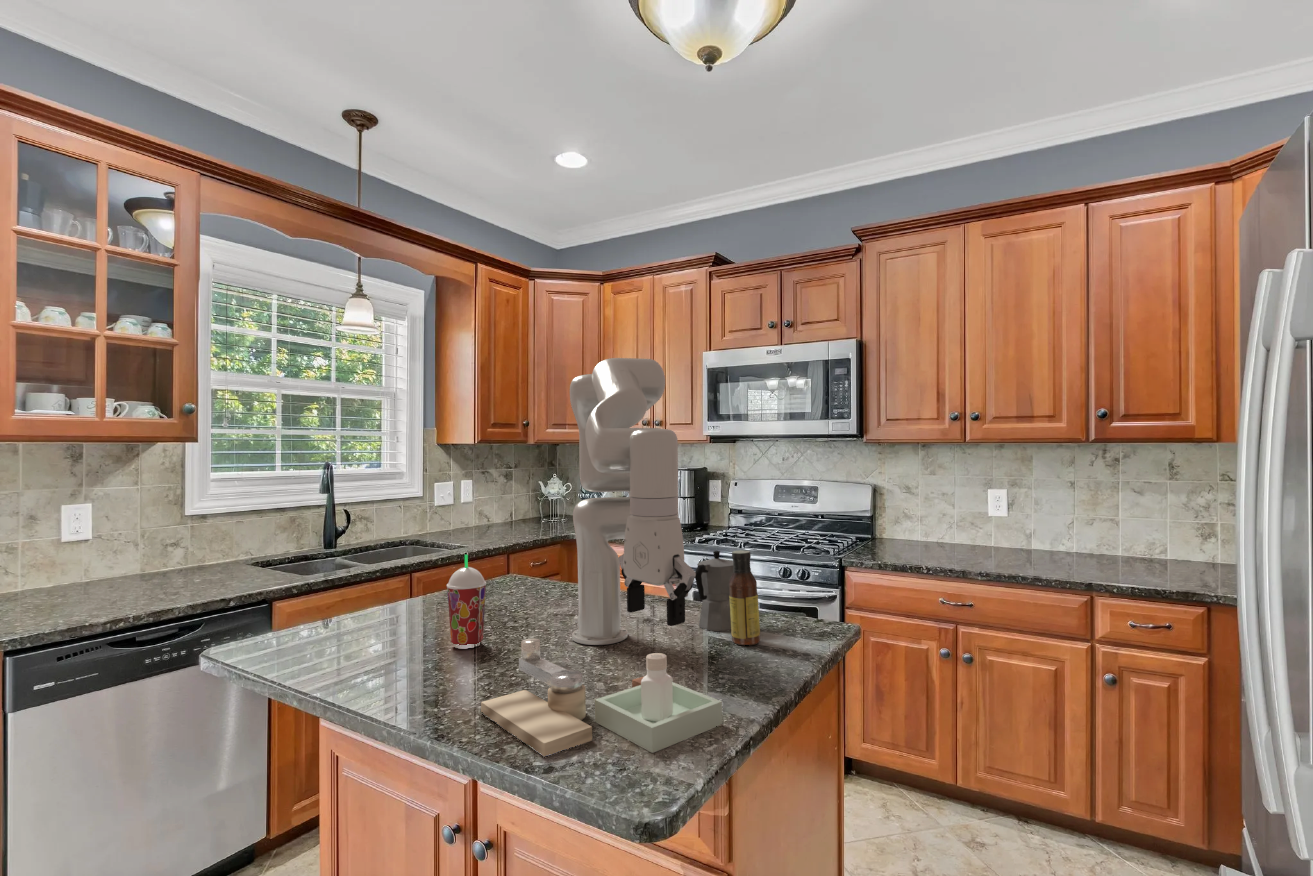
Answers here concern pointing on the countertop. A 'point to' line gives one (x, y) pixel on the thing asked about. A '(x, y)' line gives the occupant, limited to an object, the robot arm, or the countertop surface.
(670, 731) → the tray
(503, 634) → the countertop surface
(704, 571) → the coffeepot
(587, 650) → the countertop surface
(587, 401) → the robot arm
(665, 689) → the salt shaker
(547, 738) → the base
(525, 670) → the crank arm
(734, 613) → the sauce bottle
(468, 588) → the smoothie
